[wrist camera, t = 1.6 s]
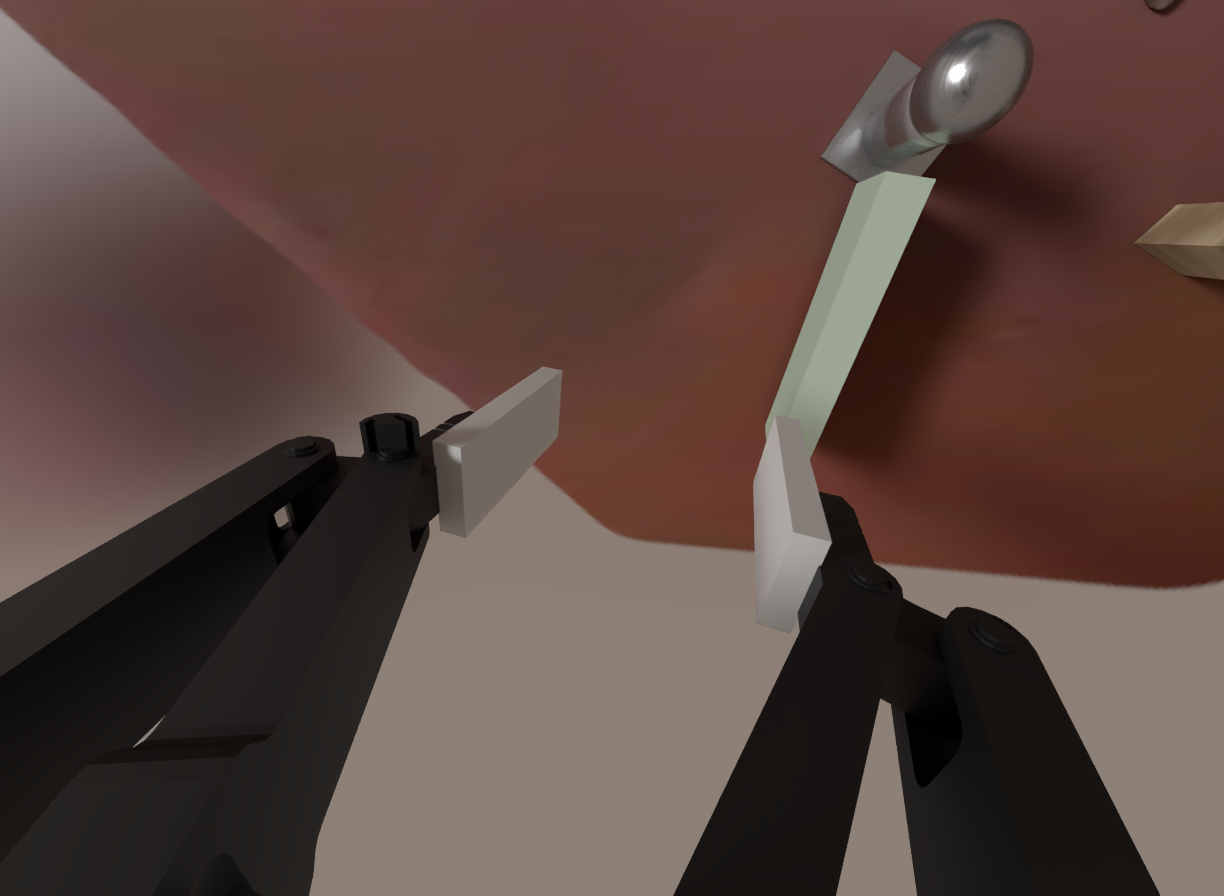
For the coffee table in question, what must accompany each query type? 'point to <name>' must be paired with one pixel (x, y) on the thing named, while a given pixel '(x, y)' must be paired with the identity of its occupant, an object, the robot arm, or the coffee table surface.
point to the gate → (848, 297)
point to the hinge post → (934, 101)
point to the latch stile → (1189, 240)
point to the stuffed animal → (1158, 4)
